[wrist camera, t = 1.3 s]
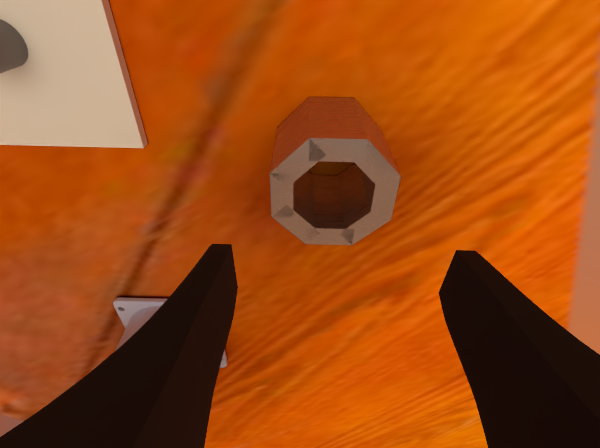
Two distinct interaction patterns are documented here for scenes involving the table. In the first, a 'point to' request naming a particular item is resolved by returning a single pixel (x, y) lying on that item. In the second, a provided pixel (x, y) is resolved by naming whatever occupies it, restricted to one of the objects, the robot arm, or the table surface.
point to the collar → (327, 188)
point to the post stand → (65, 77)
